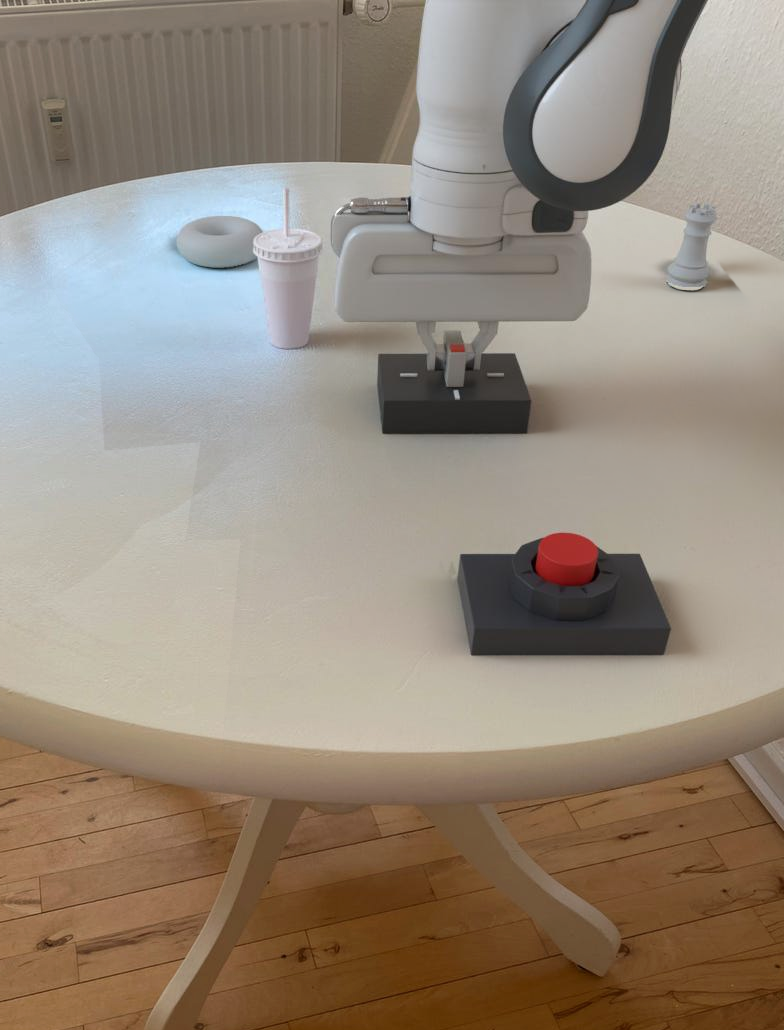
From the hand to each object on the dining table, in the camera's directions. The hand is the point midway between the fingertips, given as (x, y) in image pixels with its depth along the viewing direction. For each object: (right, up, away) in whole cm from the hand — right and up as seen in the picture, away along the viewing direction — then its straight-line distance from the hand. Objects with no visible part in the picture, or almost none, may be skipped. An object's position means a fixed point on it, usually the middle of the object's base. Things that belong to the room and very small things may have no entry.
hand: (452, 368), depth 89 cm
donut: (-22, +20, +31) cm, 43 cm away
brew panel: (0, -3, +2) cm, 4 cm away
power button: (+4, -19, -22) cm, 29 cm away
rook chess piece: (+28, +15, +24) cm, 40 cm away
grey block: (0, 0, 0) cm, 1 cm away
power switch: (+4, -21, -20) cm, 30 cm away
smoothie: (-14, +6, +13) cm, 20 cm away
